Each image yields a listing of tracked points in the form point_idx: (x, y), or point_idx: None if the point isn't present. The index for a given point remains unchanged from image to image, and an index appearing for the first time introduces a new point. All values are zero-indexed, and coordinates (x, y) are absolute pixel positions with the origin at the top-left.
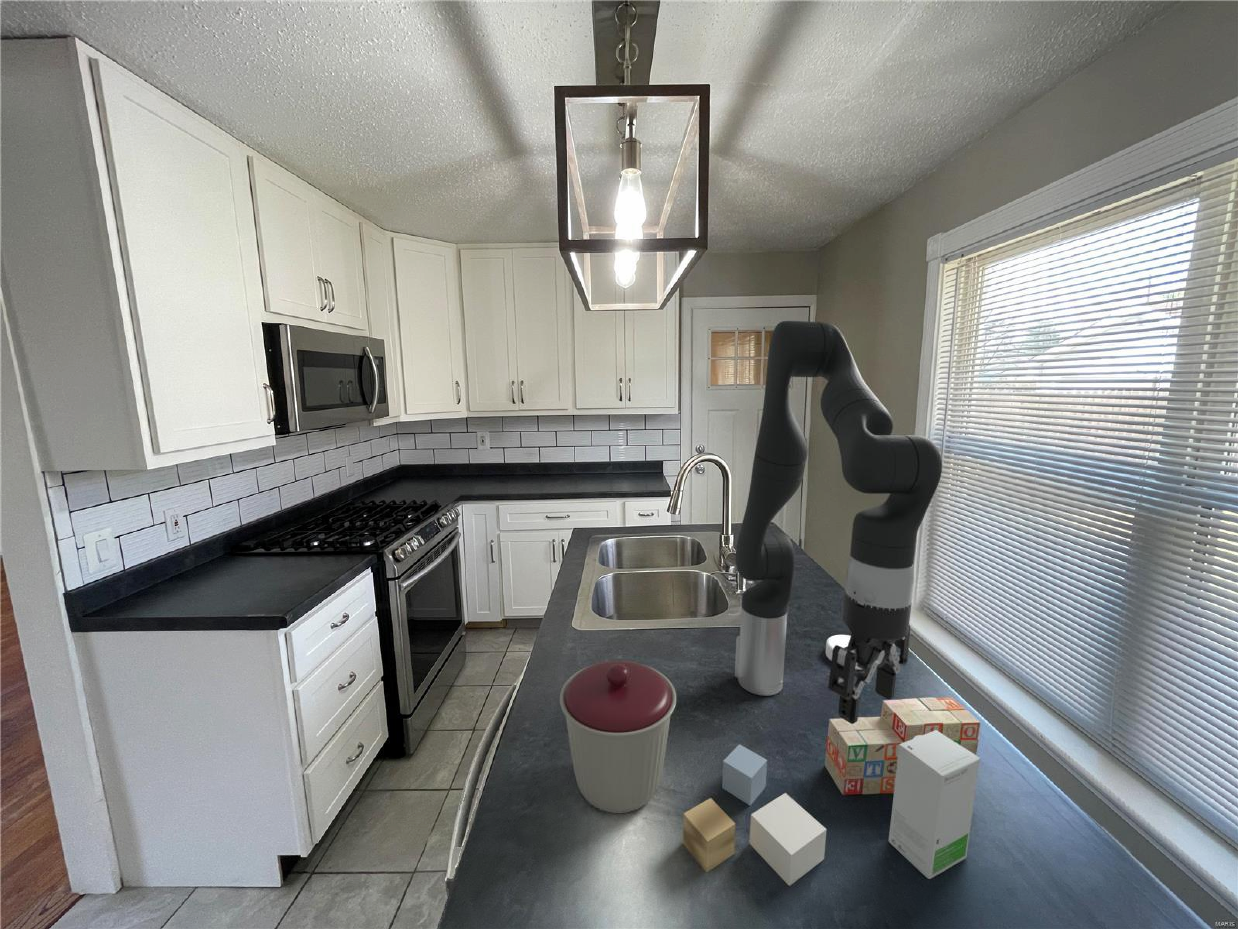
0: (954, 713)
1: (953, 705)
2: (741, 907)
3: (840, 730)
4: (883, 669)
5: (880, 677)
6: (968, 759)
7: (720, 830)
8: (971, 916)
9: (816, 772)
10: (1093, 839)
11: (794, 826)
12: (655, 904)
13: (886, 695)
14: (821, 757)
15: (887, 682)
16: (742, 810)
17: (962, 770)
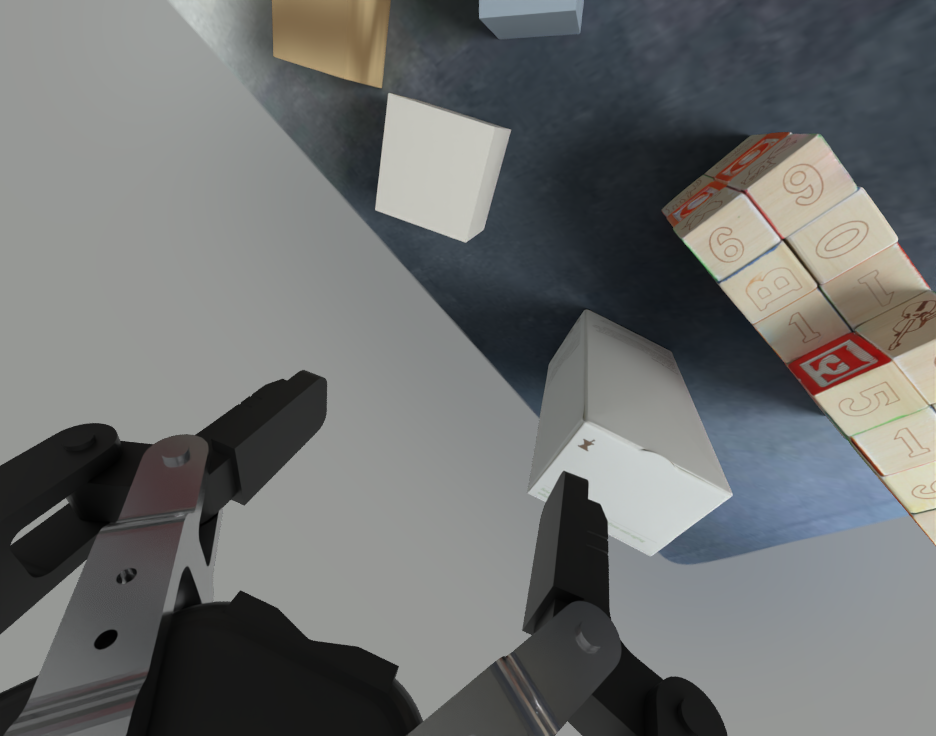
0: None
1: None
2: (326, 156)
3: (754, 195)
4: (547, 611)
5: (549, 552)
6: (626, 539)
7: (308, 61)
8: (530, 404)
9: (711, 125)
10: (774, 538)
11: (428, 188)
12: (225, 34)
13: (547, 508)
14: (790, 109)
15: (540, 565)
16: (476, 31)
17: None
